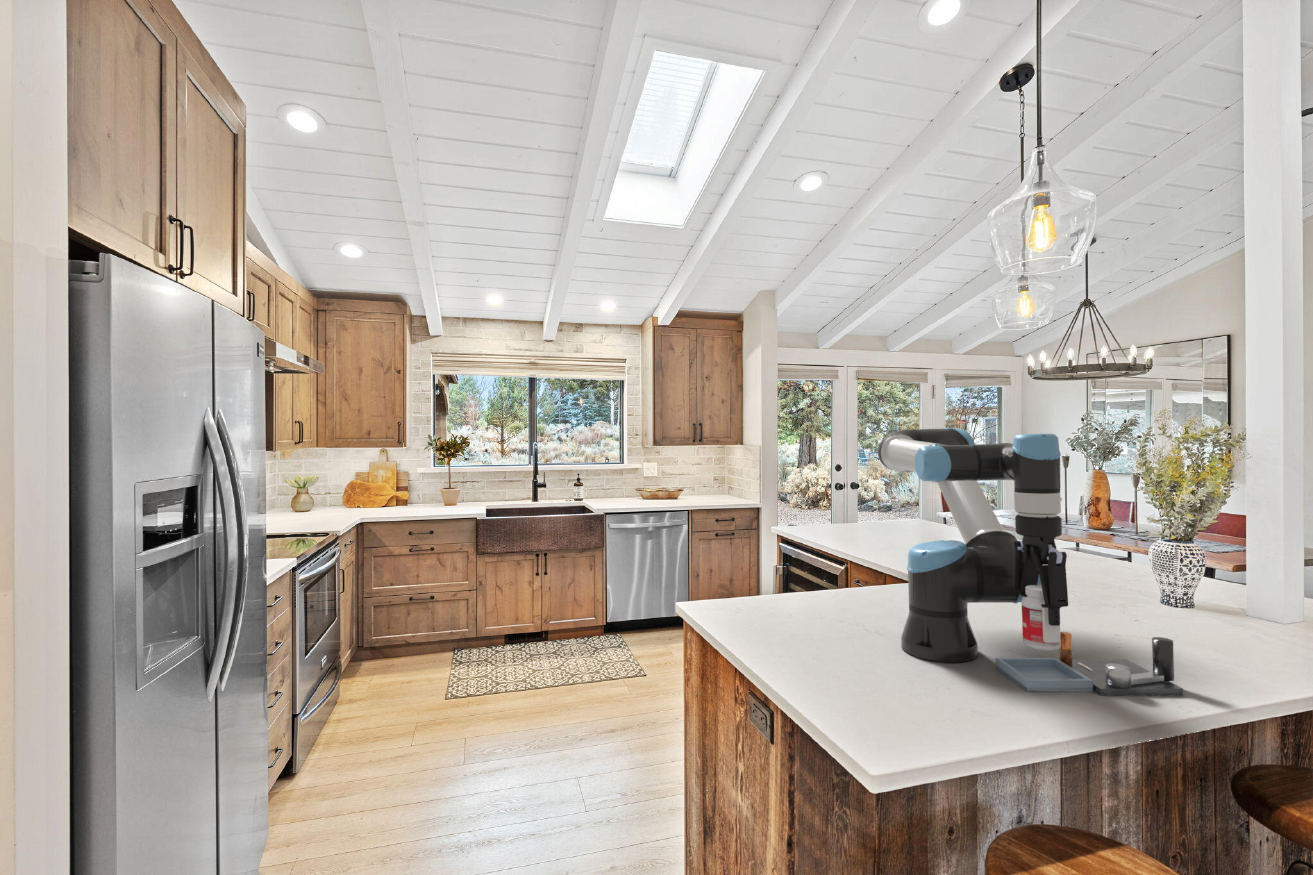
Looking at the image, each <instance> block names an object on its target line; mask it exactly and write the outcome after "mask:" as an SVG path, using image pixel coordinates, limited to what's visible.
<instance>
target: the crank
mask: <svg viewBox="0 0 1313 875" xmlns="http://www.w3.org/2000/svg"><path fill="white" fill-rule="evenodd" d="M1151 642H1152V643H1151V646H1152V647H1151V648H1152V655H1151V656H1152V671H1150V672H1147V673H1139V674H1131V670H1130V668H1129V667H1127V666H1125V665H1121V664H1114V663H1109V664H1106V683H1108V684H1109V685H1112V686H1116V687H1121V688H1128V687H1131V685H1134V684H1142V683H1150V682H1158V681H1169V682H1173V681H1175V661H1174V660H1175V659H1174V654H1175V653H1174V641H1173V639H1170V638H1167V637H1159V636H1153V637H1151Z"/></svg>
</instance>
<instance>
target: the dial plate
mask: <svg viewBox="0 0 1313 875" xmlns="http://www.w3.org/2000/svg"><path fill="white" fill-rule="evenodd" d="M1060 636H1061V647H1060V648H1059V660H1060V661H1062V662H1063V663H1065V664H1067V665H1068V666H1070V667H1071V668H1073V669H1075V670H1076V671H1078V672H1080V673H1081V674H1083V675H1085V676H1086V677H1088V678H1090V679H1091V680H1093V692H1095V693H1096V694H1098V695H1099V696H1108V697H1110V696H1112V697H1113V696H1125V697H1126V696H1127V695H1131V696H1132V695H1133V696H1134V695H1135V696H1137V695H1138V697H1139V695H1140V696H1141V695H1180V696H1184V688H1183V687H1181V686H1178V685H1177V684H1175V683H1173V682H1172V681H1158V682H1150V683H1142V684H1134V685H1131V687H1128V688H1121V687H1116V686H1112V685H1109V684H1108V683H1106V664H1109V663H1114V664H1121V665H1125V666H1127V667H1129V668H1130V670H1131V674H1139V673H1147V672H1151V671H1150V670H1147V669H1146V668H1143V667H1142V666H1139V665H1137V664H1136V663H1134V662H1132V661H1130V660H1128V659H1124V658H1123V659H1121V658H1118V659H1116V658H1115V659H1113V658H1111V659H1107V658H1106V659H1102V658H1100V659H1098V658H1097V659H1096V658H1095V659H1094V658H1093V659H1092V658H1091V659H1075V658H1074V659H1073V643H1072V642H1073V641H1072V640H1073V639H1072V638H1073V637H1072V633H1071V632H1069V631H1060ZM1127 697H1128V696H1127Z"/></svg>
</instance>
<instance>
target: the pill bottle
mask: <svg viewBox="0 0 1313 875" xmlns="http://www.w3.org/2000/svg"><path fill="white" fill-rule="evenodd" d="M1025 593H1026V595H1027V597H1026V598H1024V599H1023V600H1022V602H1021V622H1022V623H1021V626H1022V641H1023V644H1024V645H1025V646H1027V647H1028V648H1031V649H1035V650H1040V651H1056V650H1060V647H1061V642H1044V641H1043V620H1042V606H1041V604H1045V601H1044V596H1043V591H1042V586H1041V585H1029V586H1026V587H1025ZM1060 639H1061V636H1060Z"/></svg>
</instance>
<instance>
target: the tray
mask: <svg viewBox="0 0 1313 875" xmlns="http://www.w3.org/2000/svg"><path fill="white" fill-rule="evenodd" d="M995 667H996V669H997V670H999V671H1000V672H1001V673H1002V674H1004V676H1006V677H1007V678H1009V679H1010V680H1011V681H1013V682H1014V683H1016V684H1017V686H1020V688H1022V689H1023V690H1024V691H1026V692H1028V693H1029V692H1031V693H1032V692H1033V693H1035V692H1039V693H1040V692H1044V693H1045V692H1046V693H1047V692H1048V693H1049V692H1052V693H1053V692H1073V693H1074V692H1075V693H1076V692H1077V693H1078V692H1085V693H1086V692H1089V693H1090V692H1094V691H1093V680H1091V679H1090V678H1088V677H1086V676H1085V675H1083V674H1081V673H1080V672H1078V671H1076V670H1075V669H1073V668H1071V667H1070V666H1068V665H1067V664H1065V663H1063V662H1062V661H1060V659H1058V658H1057V657H996V658H995Z"/></svg>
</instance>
